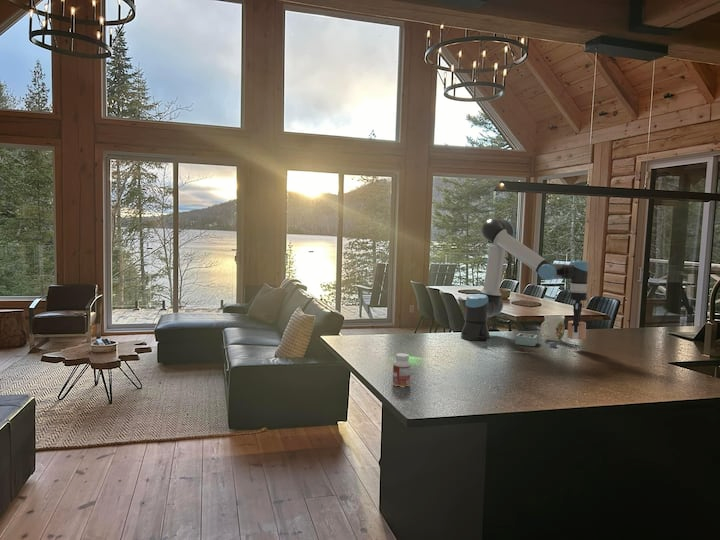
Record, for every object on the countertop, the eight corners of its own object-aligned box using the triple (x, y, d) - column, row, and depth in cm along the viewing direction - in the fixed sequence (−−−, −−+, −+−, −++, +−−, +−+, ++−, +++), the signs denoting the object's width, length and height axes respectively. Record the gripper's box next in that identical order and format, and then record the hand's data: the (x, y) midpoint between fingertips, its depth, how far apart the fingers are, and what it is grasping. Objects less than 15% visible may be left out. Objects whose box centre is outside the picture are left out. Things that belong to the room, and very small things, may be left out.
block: (522, 344, 268) (523, 336, 268) (521, 342, 272) (522, 334, 272) (530, 344, 267) (531, 336, 267) (530, 343, 271) (530, 335, 271)
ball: (548, 348, 262) (549, 342, 262) (549, 347, 265) (550, 341, 265) (556, 349, 261) (556, 342, 260) (556, 348, 264) (557, 341, 263)
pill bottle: (391, 382, 190) (392, 352, 190) (408, 383, 191) (409, 352, 190) (394, 387, 184) (395, 356, 184) (411, 387, 185) (412, 356, 184)
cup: (566, 338, 260) (567, 322, 259) (568, 335, 267) (569, 320, 266) (584, 340, 256) (585, 323, 256) (585, 337, 263) (586, 321, 263)
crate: (515, 345, 268) (515, 335, 267) (518, 342, 276) (519, 333, 275) (534, 347, 263) (534, 337, 263) (537, 344, 272) (537, 335, 271)
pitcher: (532, 340, 283) (533, 315, 282) (554, 338, 292) (555, 313, 291) (549, 344, 273) (550, 318, 273) (571, 341, 283) (572, 316, 282)
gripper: (585, 294, 249) (582, 341, 250) (588, 291, 268) (585, 335, 269) (568, 293, 253) (565, 340, 254) (572, 290, 271) (570, 333, 272)
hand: (576, 337), depth 261 cm, fingers closed on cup, 8 cm apart
